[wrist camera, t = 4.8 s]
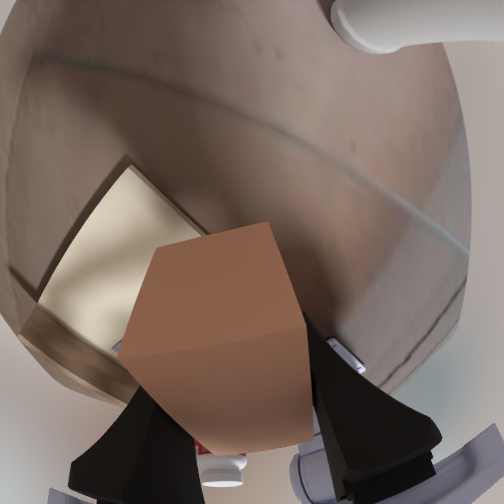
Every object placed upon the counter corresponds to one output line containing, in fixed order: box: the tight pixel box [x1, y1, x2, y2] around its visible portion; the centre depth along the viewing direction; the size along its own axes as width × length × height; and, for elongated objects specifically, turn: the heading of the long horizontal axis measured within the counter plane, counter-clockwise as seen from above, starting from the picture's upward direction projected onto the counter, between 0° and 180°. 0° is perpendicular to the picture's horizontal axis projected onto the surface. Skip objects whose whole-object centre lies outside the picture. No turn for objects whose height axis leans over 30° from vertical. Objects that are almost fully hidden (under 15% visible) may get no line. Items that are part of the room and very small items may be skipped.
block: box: [117, 221, 314, 456], centre depth 10 cm, size 8×4×6 cm, turn 12°
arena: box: [18, 165, 206, 408], centre depth 20 cm, size 20×18×5 cm
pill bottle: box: [195, 439, 247, 487], centre depth 26 cm, size 6×6×11 cm
